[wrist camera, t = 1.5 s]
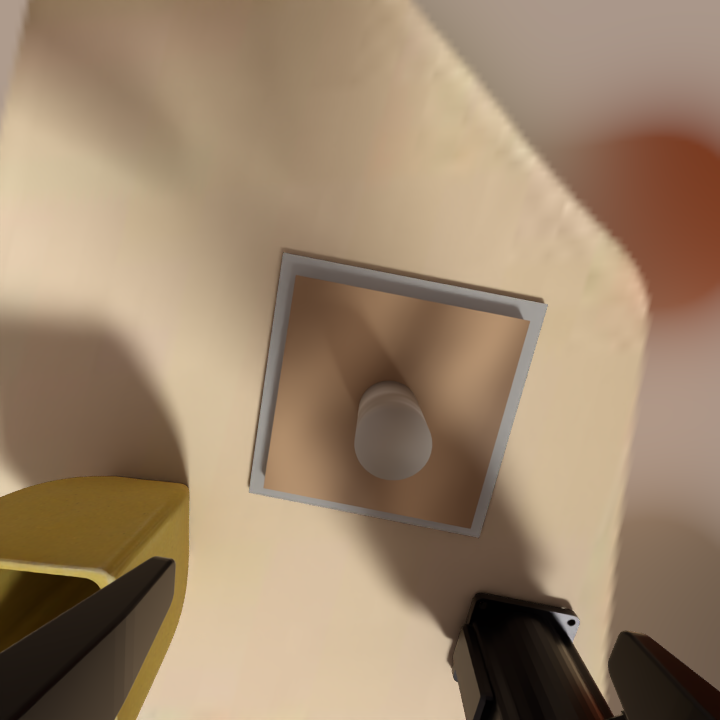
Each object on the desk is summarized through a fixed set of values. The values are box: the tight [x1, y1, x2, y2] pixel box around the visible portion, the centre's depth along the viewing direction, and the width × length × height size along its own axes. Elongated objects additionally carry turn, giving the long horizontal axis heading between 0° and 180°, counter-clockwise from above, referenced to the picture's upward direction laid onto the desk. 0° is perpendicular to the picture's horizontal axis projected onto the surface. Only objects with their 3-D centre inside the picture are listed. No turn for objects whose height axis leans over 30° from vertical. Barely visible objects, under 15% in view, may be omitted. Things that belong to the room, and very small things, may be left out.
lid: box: [263, 275, 530, 529], centre depth 17 cm, size 12×12×5 cm
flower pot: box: [0, 476, 189, 720], centre depth 17 cm, size 9×9×9 cm
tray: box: [249, 252, 548, 538], centre depth 20 cm, size 14×14×1 cm
